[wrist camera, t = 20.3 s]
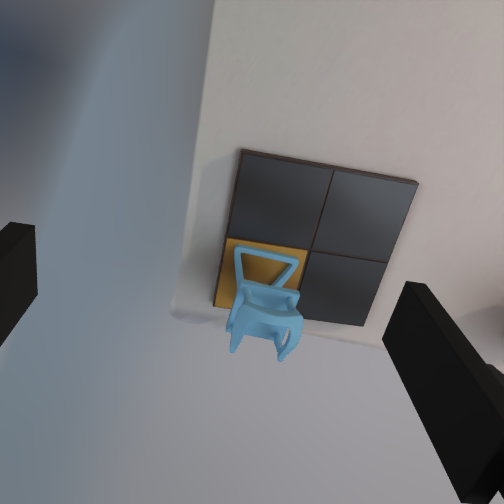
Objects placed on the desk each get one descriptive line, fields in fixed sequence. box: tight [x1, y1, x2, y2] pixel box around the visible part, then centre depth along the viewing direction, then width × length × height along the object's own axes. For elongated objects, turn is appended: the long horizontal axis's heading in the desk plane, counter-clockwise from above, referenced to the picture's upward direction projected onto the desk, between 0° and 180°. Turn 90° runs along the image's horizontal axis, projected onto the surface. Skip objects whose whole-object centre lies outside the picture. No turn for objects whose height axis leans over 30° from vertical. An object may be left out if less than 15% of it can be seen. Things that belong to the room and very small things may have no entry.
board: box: [213, 149, 419, 327], centre depth 51 cm, size 20×20×1 cm
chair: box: [226, 244, 303, 362], centre depth 47 cm, size 8×8×12 cm
